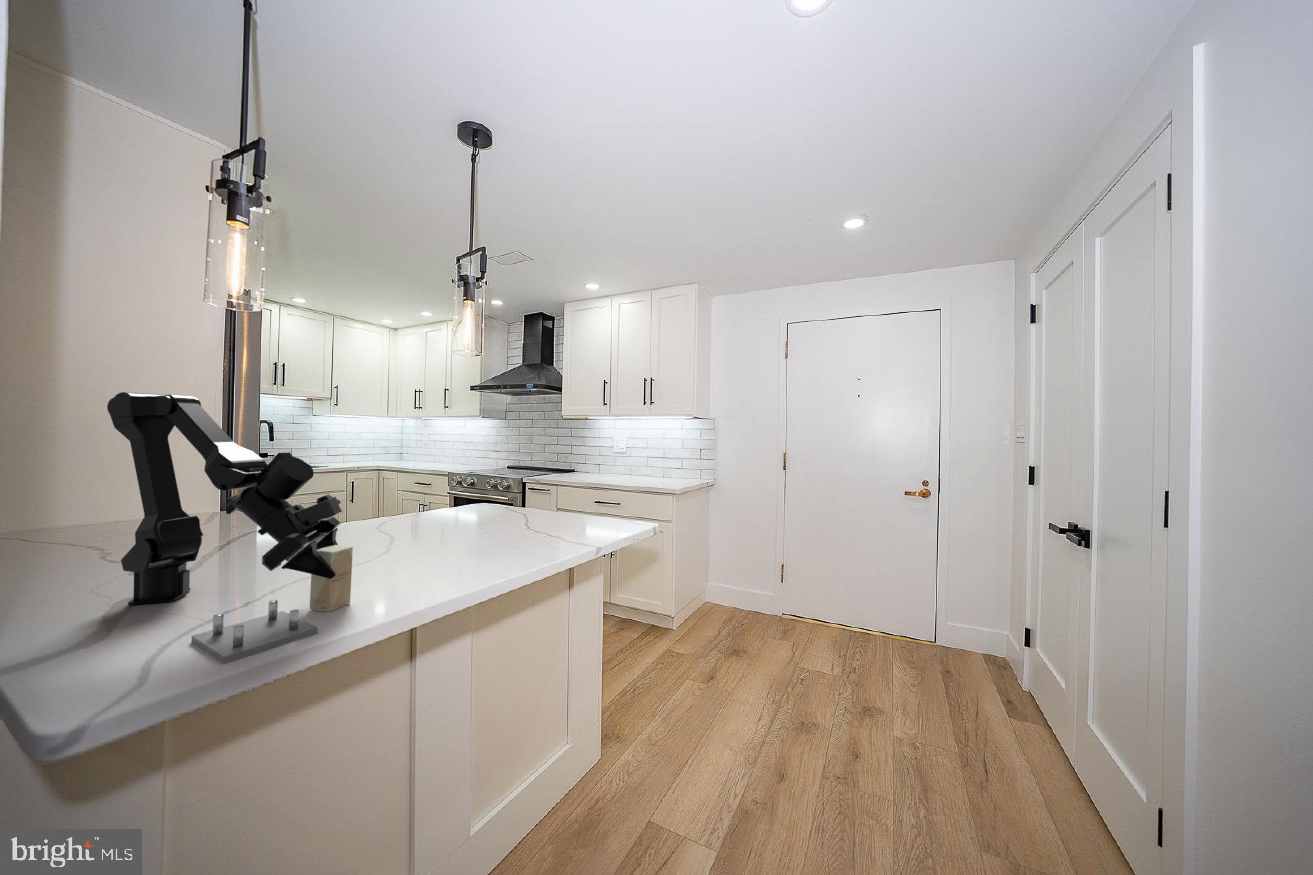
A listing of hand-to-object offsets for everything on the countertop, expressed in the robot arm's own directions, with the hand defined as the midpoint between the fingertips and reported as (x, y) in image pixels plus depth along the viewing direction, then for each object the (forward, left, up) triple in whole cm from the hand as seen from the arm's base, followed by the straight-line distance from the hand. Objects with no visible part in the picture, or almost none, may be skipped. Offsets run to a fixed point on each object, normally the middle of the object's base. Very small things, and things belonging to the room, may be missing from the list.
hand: (340, 571), depth 89 cm
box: (-1, 0, -7) cm, 7 cm away
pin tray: (-9, -11, -7) cm, 16 cm away
